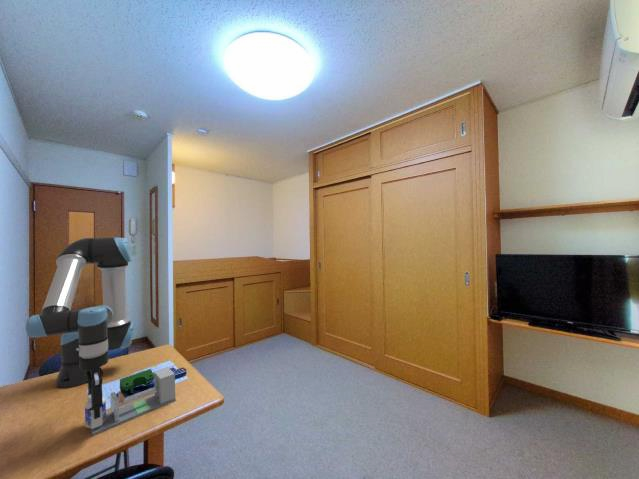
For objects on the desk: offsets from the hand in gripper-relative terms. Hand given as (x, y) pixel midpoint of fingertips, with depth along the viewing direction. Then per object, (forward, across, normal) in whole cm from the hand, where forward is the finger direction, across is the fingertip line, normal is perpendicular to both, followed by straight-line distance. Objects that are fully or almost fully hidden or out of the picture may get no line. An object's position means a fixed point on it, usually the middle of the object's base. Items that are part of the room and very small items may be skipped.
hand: (95, 422), depth 90 cm
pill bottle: (+1, 0, 0) cm, 1 cm away
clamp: (+2, -17, +15) cm, 23 cm away
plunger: (+1, 0, +12) cm, 12 cm away
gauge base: (+2, 0, +11) cm, 11 cm away
